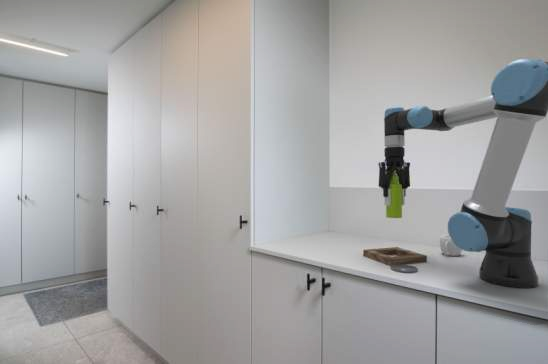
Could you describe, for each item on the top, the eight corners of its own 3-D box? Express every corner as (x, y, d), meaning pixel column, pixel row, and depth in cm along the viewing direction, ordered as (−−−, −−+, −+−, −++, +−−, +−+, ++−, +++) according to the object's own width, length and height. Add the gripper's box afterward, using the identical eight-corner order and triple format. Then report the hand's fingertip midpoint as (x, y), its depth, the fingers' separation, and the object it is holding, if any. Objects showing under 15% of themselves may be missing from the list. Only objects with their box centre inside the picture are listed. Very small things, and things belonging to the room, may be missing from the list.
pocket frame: (426, 262, 126) (426, 255, 126) (390, 265, 121) (390, 259, 121) (396, 252, 142) (396, 247, 142) (363, 255, 137) (363, 249, 137)
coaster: (423, 271, 113) (423, 269, 113) (402, 274, 110) (402, 272, 110) (405, 265, 122) (405, 263, 122) (385, 267, 119) (385, 265, 119)
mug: (443, 251, 144) (443, 233, 144) (465, 254, 139) (465, 236, 139) (434, 256, 136) (434, 237, 136) (457, 259, 130) (457, 240, 130)
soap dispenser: (405, 218, 127) (405, 166, 127) (387, 217, 129) (387, 167, 129) (403, 216, 133) (403, 167, 133) (385, 216, 134) (385, 167, 135)
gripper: (407, 148, 137) (407, 203, 137) (368, 147, 131) (368, 205, 131) (420, 146, 130) (420, 205, 130) (380, 145, 124) (380, 206, 124)
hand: (394, 205), depth 131 cm, fingers closed on soap dispenser, 6 cm apart
